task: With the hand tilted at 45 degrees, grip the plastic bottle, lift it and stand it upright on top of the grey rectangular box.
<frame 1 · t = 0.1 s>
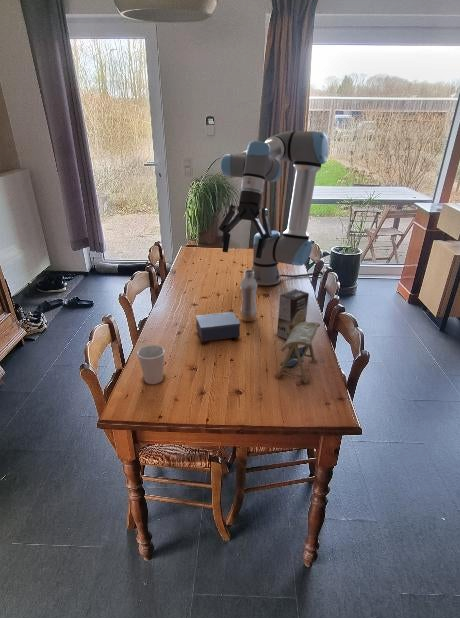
hand: (241, 255, 154), 28 cm above the table, tool tilted 20°, fingers open, 13 cm apart
dixie cup: (153, 379, 137), on the table
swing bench: (297, 370, 141), on the table
grey rectangular box: (217, 336, 161), on the table
coffee box: (290, 334, 163), on the table
plastic bottle: (248, 320, 173), on the table
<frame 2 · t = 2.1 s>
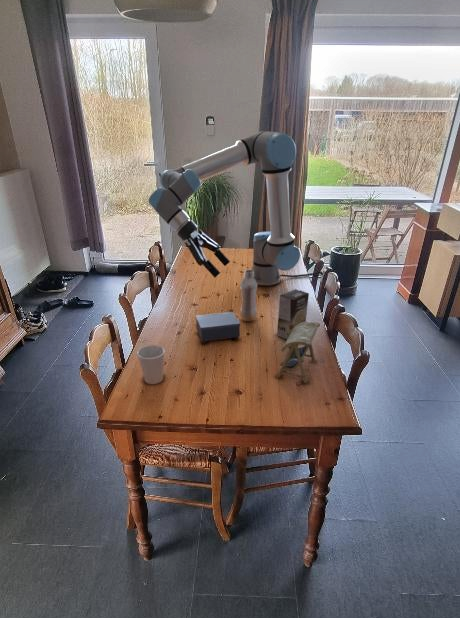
hand: (222, 269, 165), 20 cm above the table, tool tilted 45°, fingers open, 13 cm apart
nothing on the table moved.
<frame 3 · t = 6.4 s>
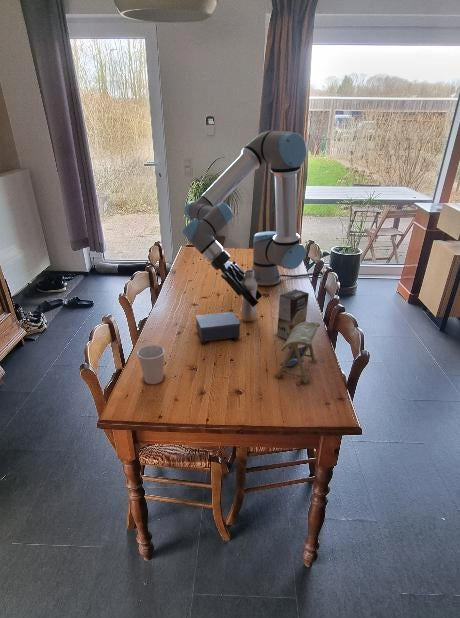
hand: (257, 301, 168), 8 cm above the table, tool tilted 45°, fingers closed on plastic bottle, 6 cm apart
plastic bottle: (248, 320, 173), on the table, touching gripper
everything else where it was.
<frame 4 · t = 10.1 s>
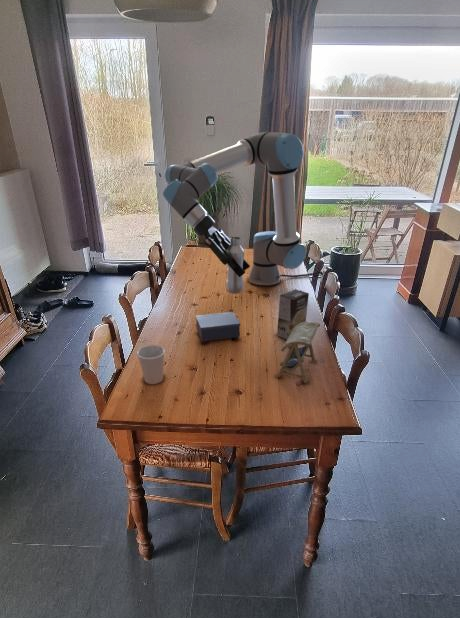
hand: (244, 271, 155), 23 cm above the table, tool tilted 45°, fingers closed on plastic bottle, 6 cm apart
plastic bottle: (234, 293, 160), point 14 cm above the table, touching gripper
everything else where it was.
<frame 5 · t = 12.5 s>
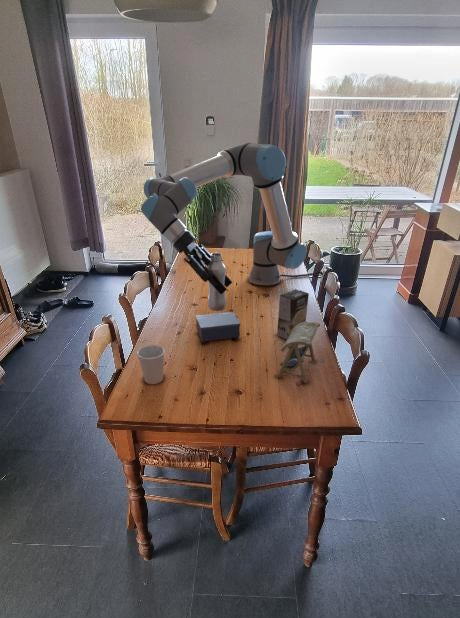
hand: (226, 288, 150), 19 cm above the table, tool tilted 45°, fingers closed on plastic bottle, 6 cm apart
plastic bottle: (217, 309, 155), point 11 cm above the table, touching gripper
everything else where it was.
when the fingers open (15 cm above the table, at t = 14.0 s): plastic bottle stays where it is, resting on grey rectangular box.
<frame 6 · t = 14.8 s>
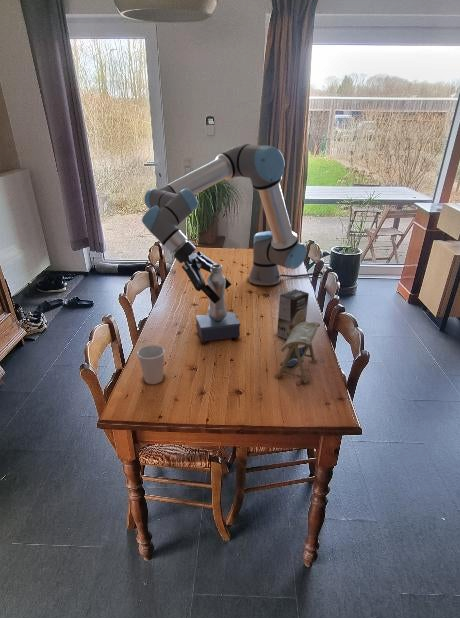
hand: (223, 293, 151), 17 cm above the table, tool tilted 45°, fingers open, 13 cm apart
plastic bottle: (217, 319, 157), point 7 cm above the table, touching grey rectangular box
everything else where it was.
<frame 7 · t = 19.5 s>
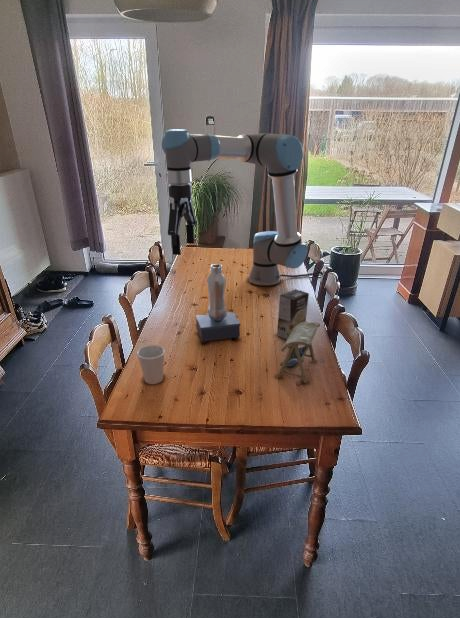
hand: (183, 248, 152), 30 cm above the table, tool pointing down, fingers open, 13 cm apart
nothing on the table moved.
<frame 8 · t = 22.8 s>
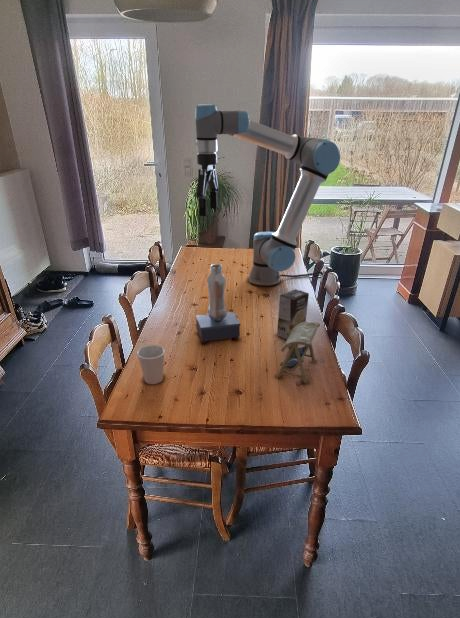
hand: (208, 212, 172), 37 cm above the table, tool pointing down, fingers open, 13 cm apart
nothing on the table moved.
at the end: plastic bottle inside the target area on the grey rectangular box (0.1 cm from its centre), point 6.8 cm above the grey rectangular box's base; plastic bottle tilted 0°; the gripper is holding nothing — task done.
